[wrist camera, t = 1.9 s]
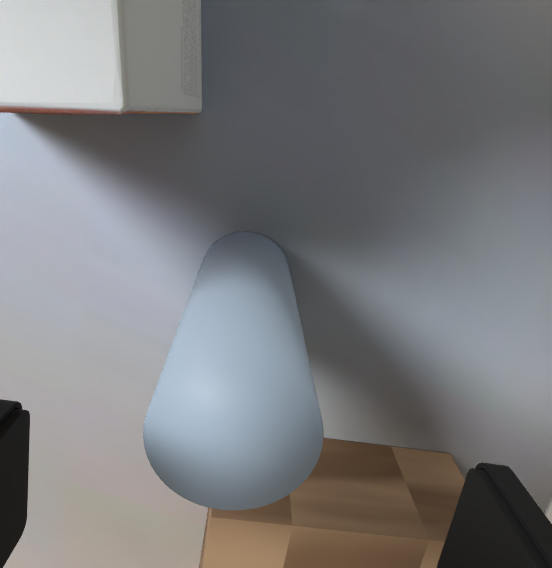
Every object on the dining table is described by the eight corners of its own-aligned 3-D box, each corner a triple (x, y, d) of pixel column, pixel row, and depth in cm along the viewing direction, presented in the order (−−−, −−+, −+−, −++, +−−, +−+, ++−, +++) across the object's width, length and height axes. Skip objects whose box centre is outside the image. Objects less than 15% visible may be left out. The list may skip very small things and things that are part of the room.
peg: (206, 224, 22) (152, 345, 10) (296, 239, 22) (340, 370, 11) (195, 309, 23) (136, 500, 12) (281, 321, 23) (305, 518, 12)
